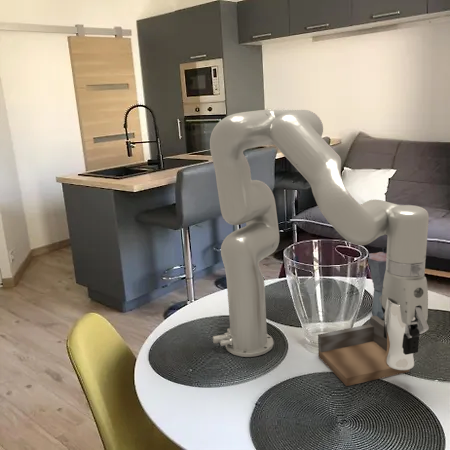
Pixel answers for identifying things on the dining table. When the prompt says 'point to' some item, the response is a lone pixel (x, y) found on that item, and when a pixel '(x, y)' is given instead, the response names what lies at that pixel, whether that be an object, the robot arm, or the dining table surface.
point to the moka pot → (377, 278)
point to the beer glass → (396, 338)
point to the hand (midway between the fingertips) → (400, 344)
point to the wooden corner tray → (357, 353)
